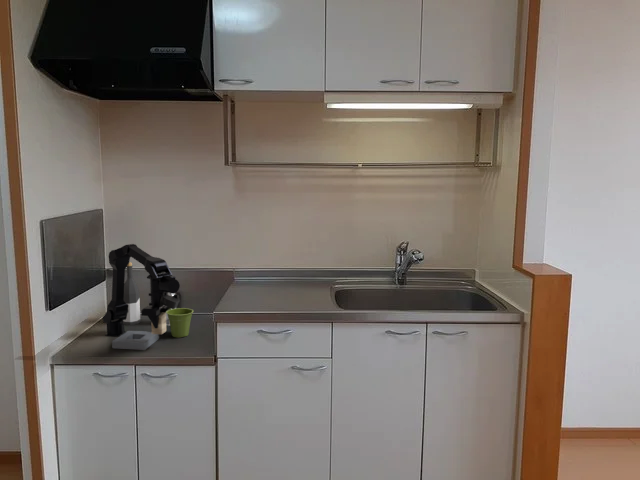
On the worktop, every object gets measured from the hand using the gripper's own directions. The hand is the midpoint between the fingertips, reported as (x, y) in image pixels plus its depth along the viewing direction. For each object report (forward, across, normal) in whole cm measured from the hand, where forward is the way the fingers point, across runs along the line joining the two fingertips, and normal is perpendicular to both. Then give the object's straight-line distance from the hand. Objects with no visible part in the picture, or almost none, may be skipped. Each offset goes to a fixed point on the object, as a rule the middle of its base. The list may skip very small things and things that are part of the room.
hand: (158, 326), depth 195 cm
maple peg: (+3, 0, 0) cm, 3 cm away
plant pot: (+10, +17, -2) cm, 19 cm away
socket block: (+9, +4, +12) cm, 16 cm away
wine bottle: (+10, +31, +28) cm, 43 cm away
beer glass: (+10, +32, +9) cm, 35 cm away
